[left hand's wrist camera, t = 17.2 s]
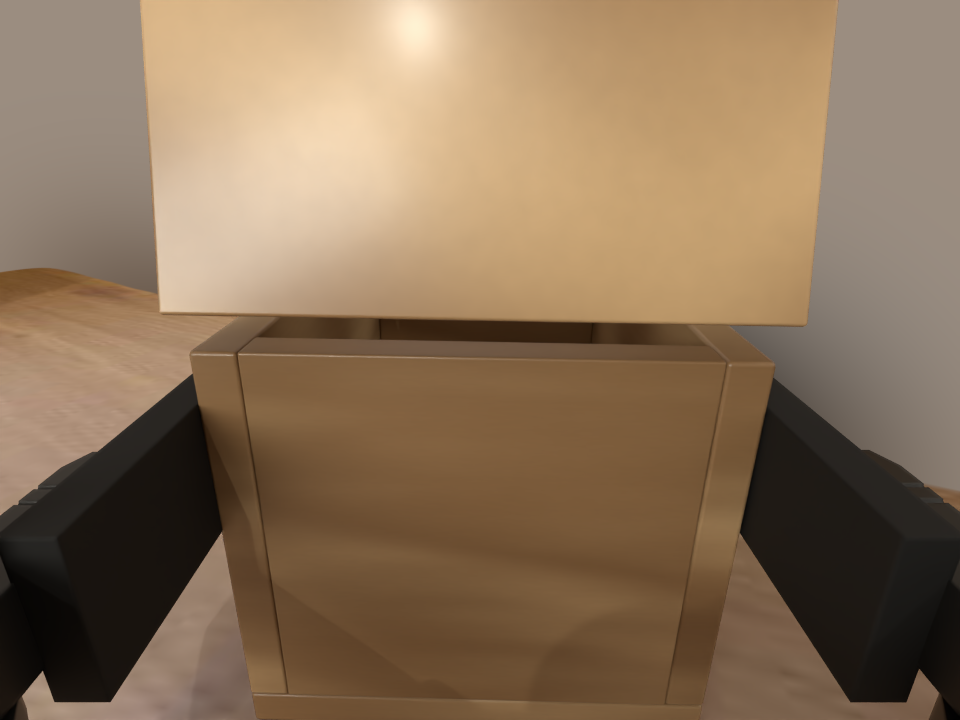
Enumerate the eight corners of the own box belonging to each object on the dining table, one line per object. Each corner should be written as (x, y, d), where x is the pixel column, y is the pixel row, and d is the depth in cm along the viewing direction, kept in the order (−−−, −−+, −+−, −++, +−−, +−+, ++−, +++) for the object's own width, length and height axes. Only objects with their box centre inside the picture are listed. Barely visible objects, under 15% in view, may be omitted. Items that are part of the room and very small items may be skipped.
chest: (370, 437, 25) (356, 231, 22) (598, 442, 25) (619, 235, 22) (254, 720, 13) (186, 351, 10) (697, 734, 13) (778, 362, 10)
